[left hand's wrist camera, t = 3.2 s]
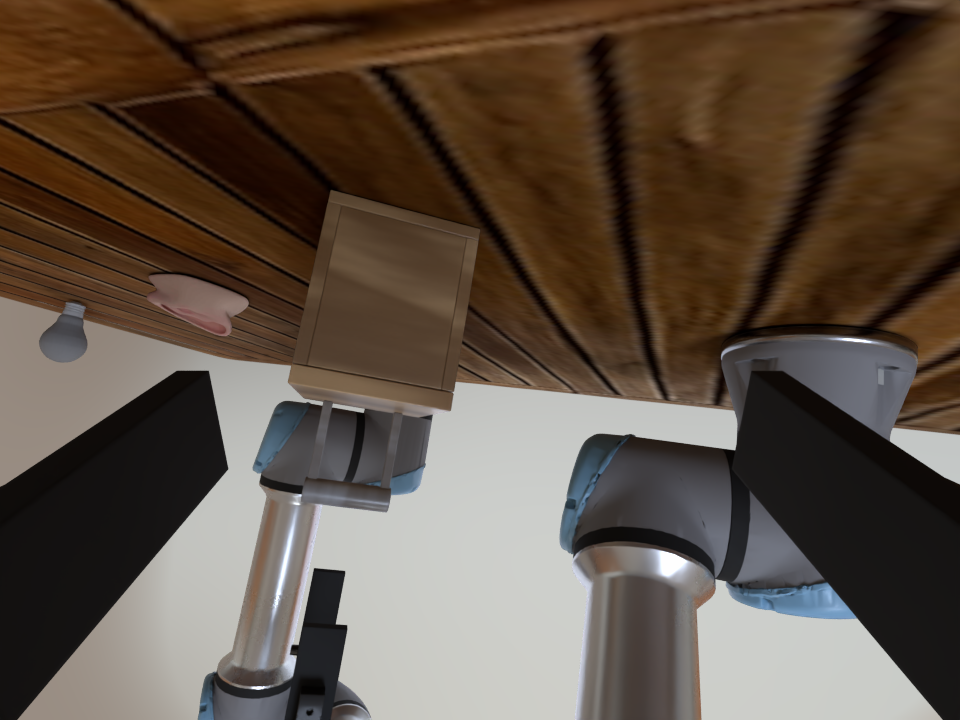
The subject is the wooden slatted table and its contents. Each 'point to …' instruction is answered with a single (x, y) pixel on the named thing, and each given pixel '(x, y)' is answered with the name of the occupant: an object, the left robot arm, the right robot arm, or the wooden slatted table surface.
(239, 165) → the wooden slatted table surface
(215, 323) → the anatomical model
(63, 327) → the light bulb
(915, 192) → the wooden slatted table surface
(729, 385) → the left robot arm
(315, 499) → the lid
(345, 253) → the chest
